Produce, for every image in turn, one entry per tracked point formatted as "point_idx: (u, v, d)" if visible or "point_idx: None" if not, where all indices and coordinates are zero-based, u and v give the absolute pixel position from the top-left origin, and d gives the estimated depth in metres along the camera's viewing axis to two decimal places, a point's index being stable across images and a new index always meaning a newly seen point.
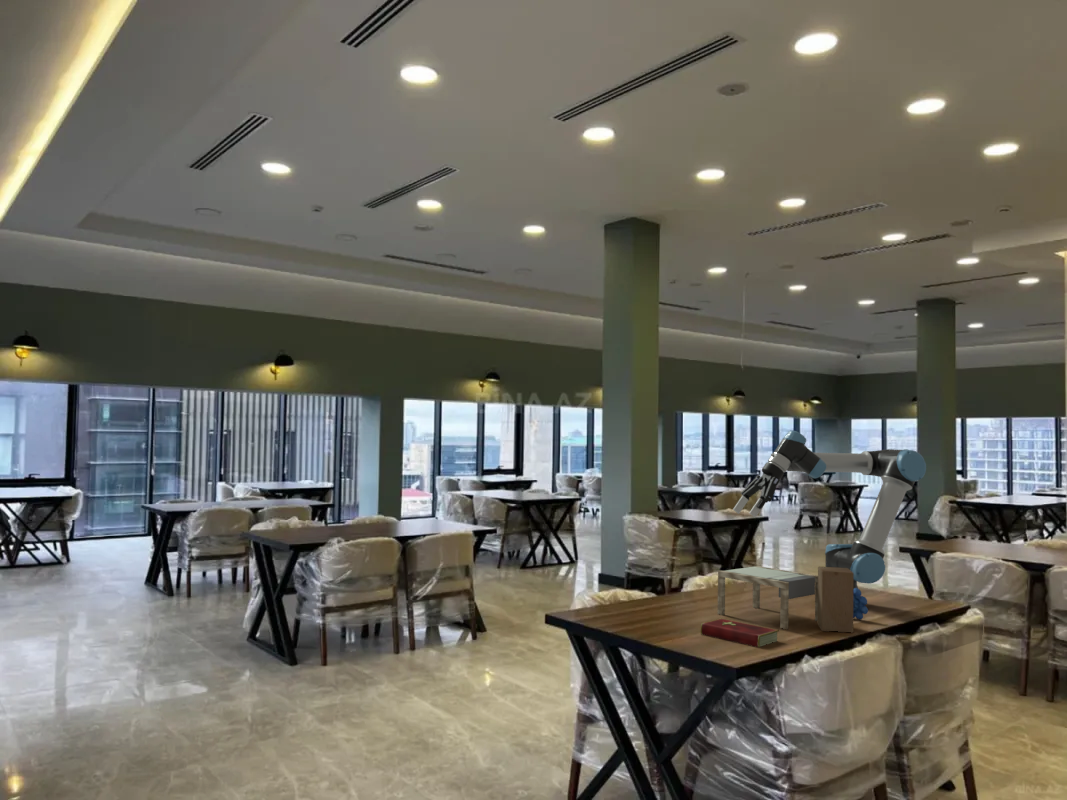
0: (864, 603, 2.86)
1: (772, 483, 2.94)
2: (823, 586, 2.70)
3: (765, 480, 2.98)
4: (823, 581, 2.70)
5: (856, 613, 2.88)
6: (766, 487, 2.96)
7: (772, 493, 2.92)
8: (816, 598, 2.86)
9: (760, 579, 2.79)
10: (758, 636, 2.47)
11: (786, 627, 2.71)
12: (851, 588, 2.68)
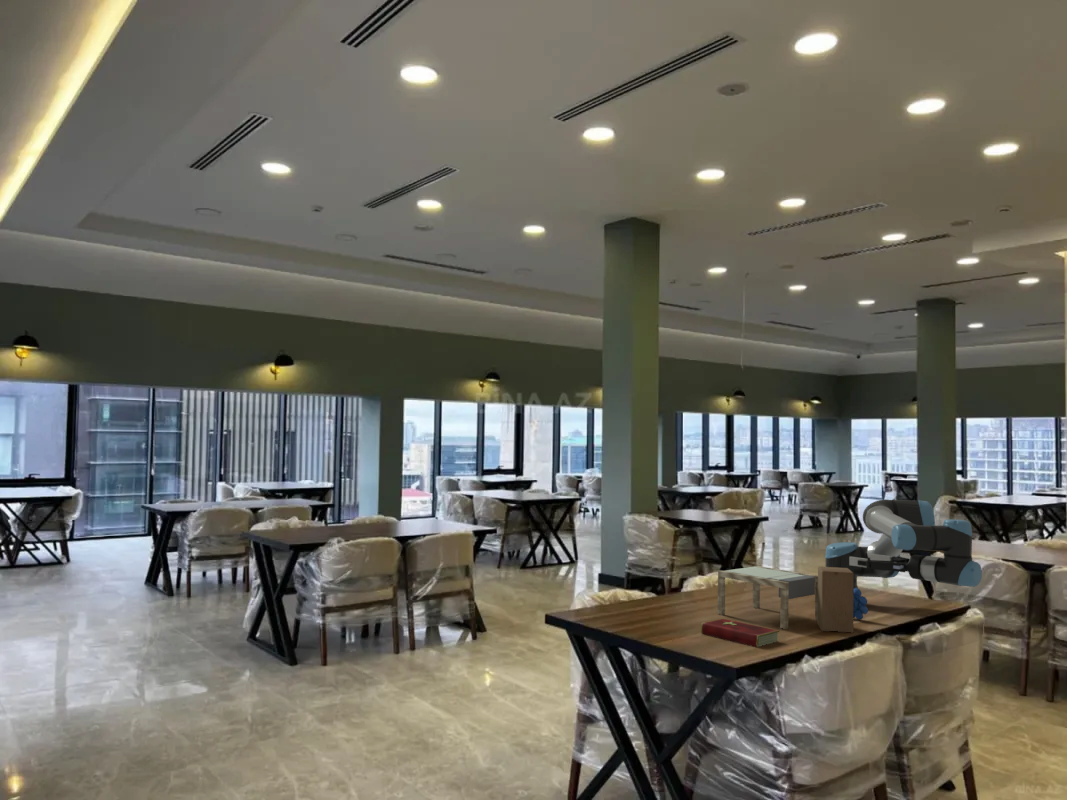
0: (864, 603, 2.86)
1: None
2: (823, 586, 2.70)
3: None
4: (823, 581, 2.70)
5: (856, 613, 2.88)
6: None
7: None
8: (816, 598, 2.86)
9: (760, 579, 2.79)
10: (757, 636, 2.47)
11: (786, 627, 2.71)
12: (851, 588, 2.68)
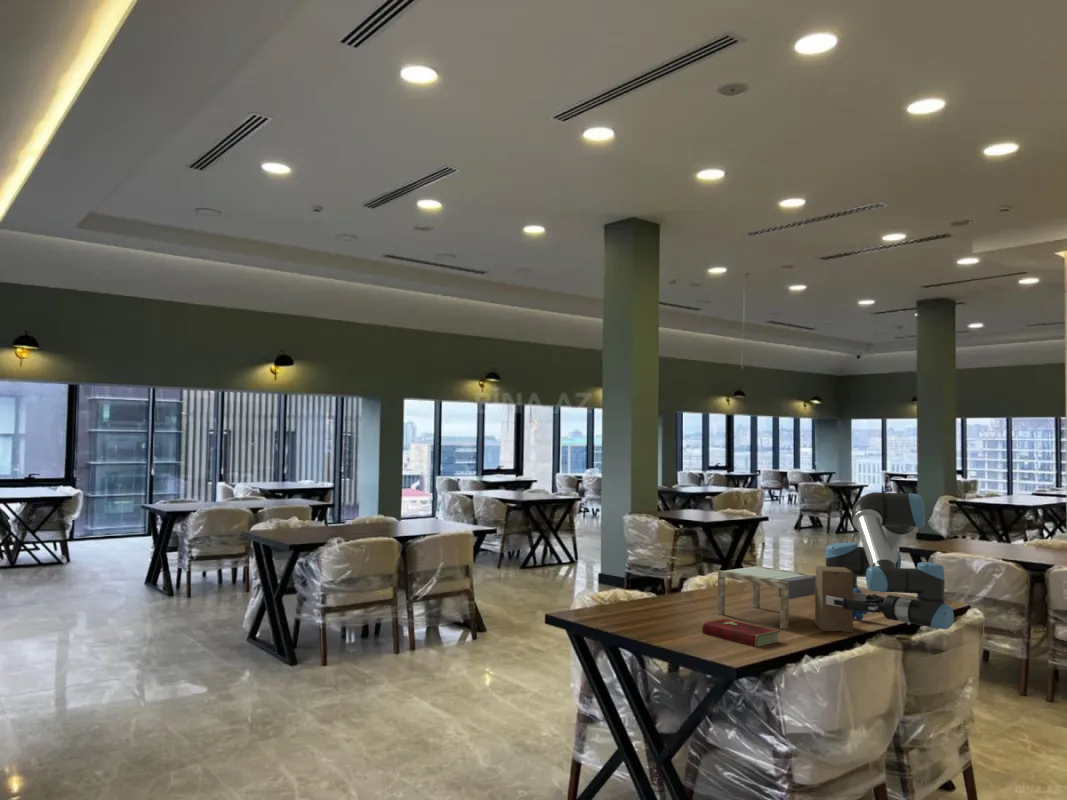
0: None
1: None
2: (823, 586, 2.70)
3: None
4: (823, 581, 2.70)
5: (856, 613, 2.88)
6: None
7: None
8: None
9: (760, 579, 2.79)
10: (756, 636, 2.47)
11: (786, 627, 2.71)
12: (851, 587, 2.69)
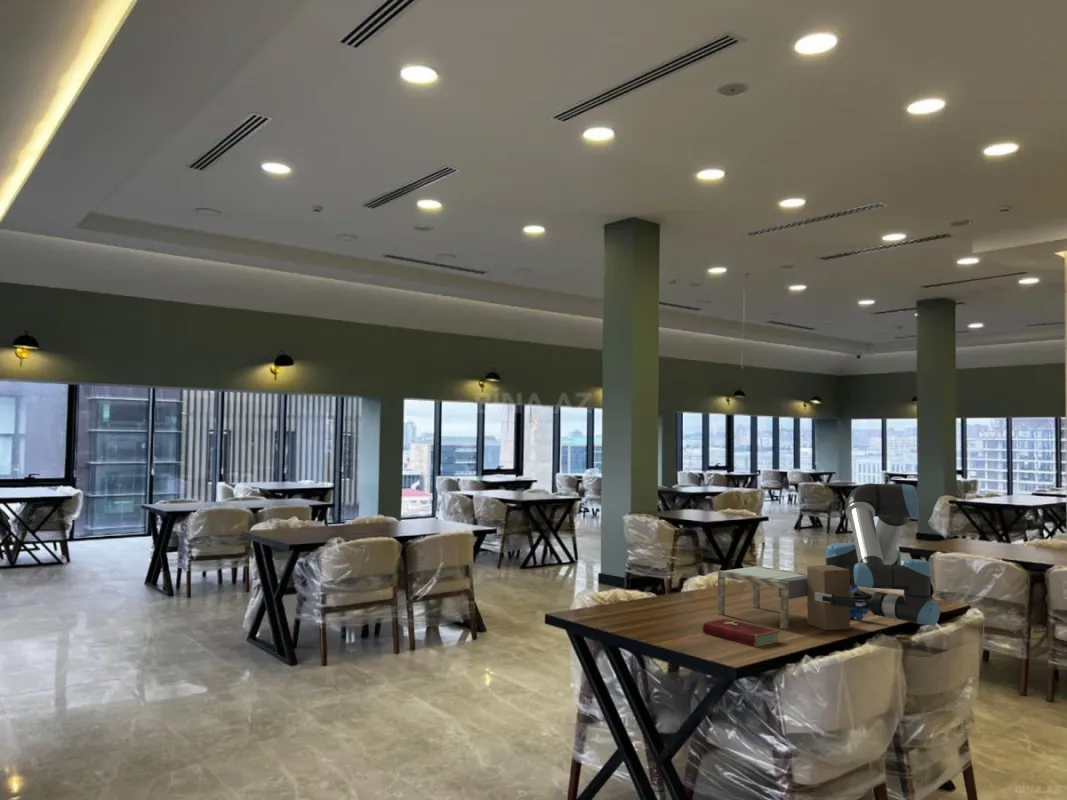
0: None
1: None
2: (825, 586, 2.70)
3: None
4: (825, 581, 2.71)
5: (856, 613, 2.88)
6: None
7: None
8: None
9: (760, 579, 2.79)
10: (755, 636, 2.47)
11: (786, 627, 2.71)
12: (848, 585, 2.73)
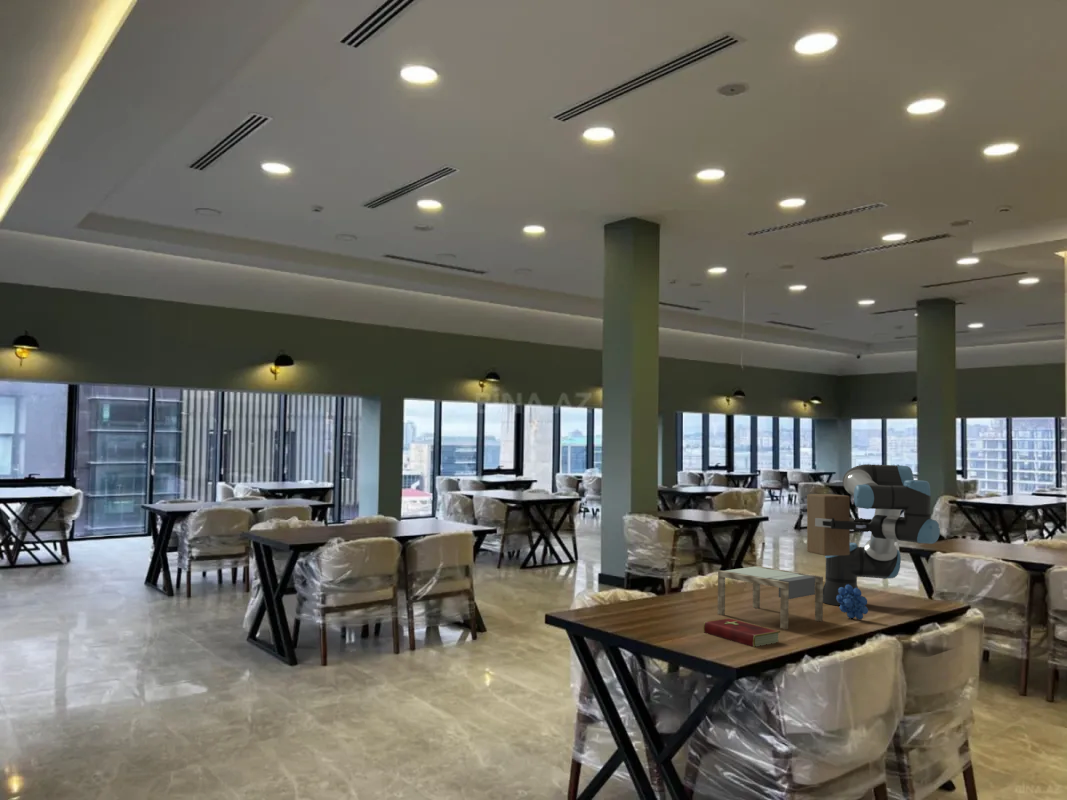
0: (864, 603, 2.86)
1: None
2: (826, 511, 2.71)
3: None
4: (826, 506, 2.72)
5: (856, 613, 2.88)
6: None
7: None
8: (816, 598, 2.86)
9: (760, 579, 2.79)
10: (753, 636, 2.47)
11: (786, 627, 2.71)
12: (848, 511, 2.74)
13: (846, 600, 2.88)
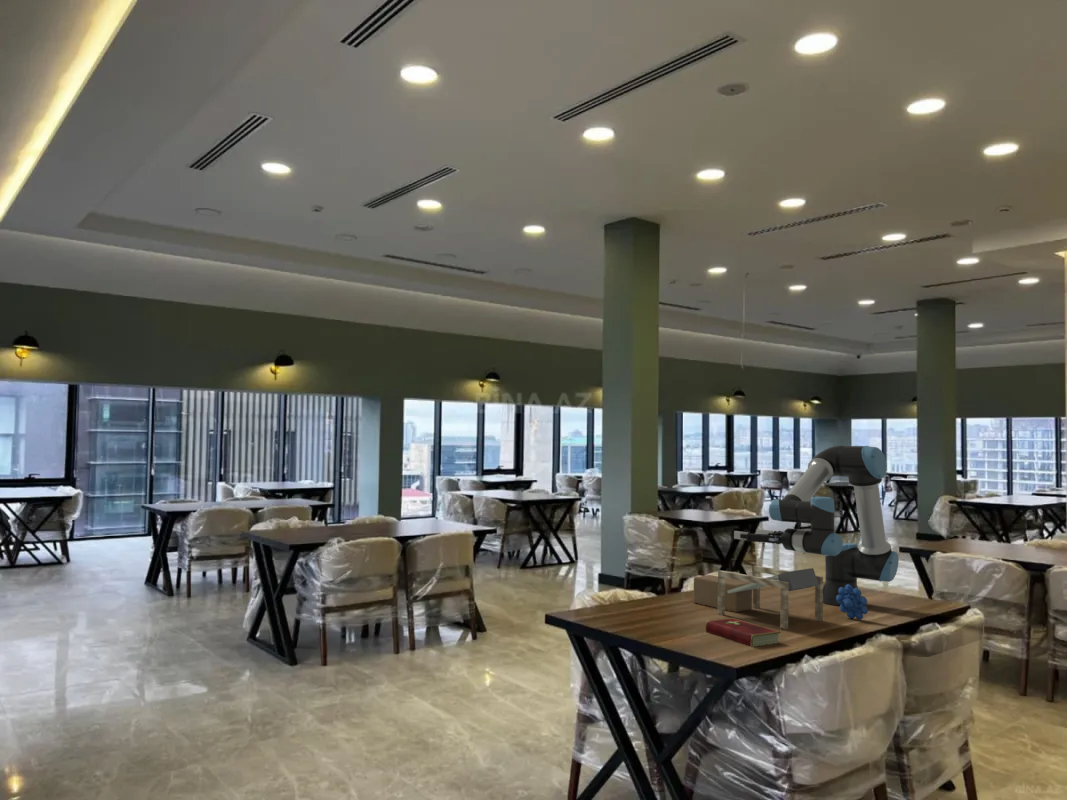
0: (864, 603, 2.86)
1: None
2: (704, 578, 3.08)
3: None
4: (701, 578, 3.09)
5: (856, 613, 2.88)
6: None
7: None
8: (816, 598, 2.86)
9: (760, 579, 2.79)
10: (751, 636, 2.47)
11: (786, 627, 2.71)
12: None
13: (846, 600, 2.88)
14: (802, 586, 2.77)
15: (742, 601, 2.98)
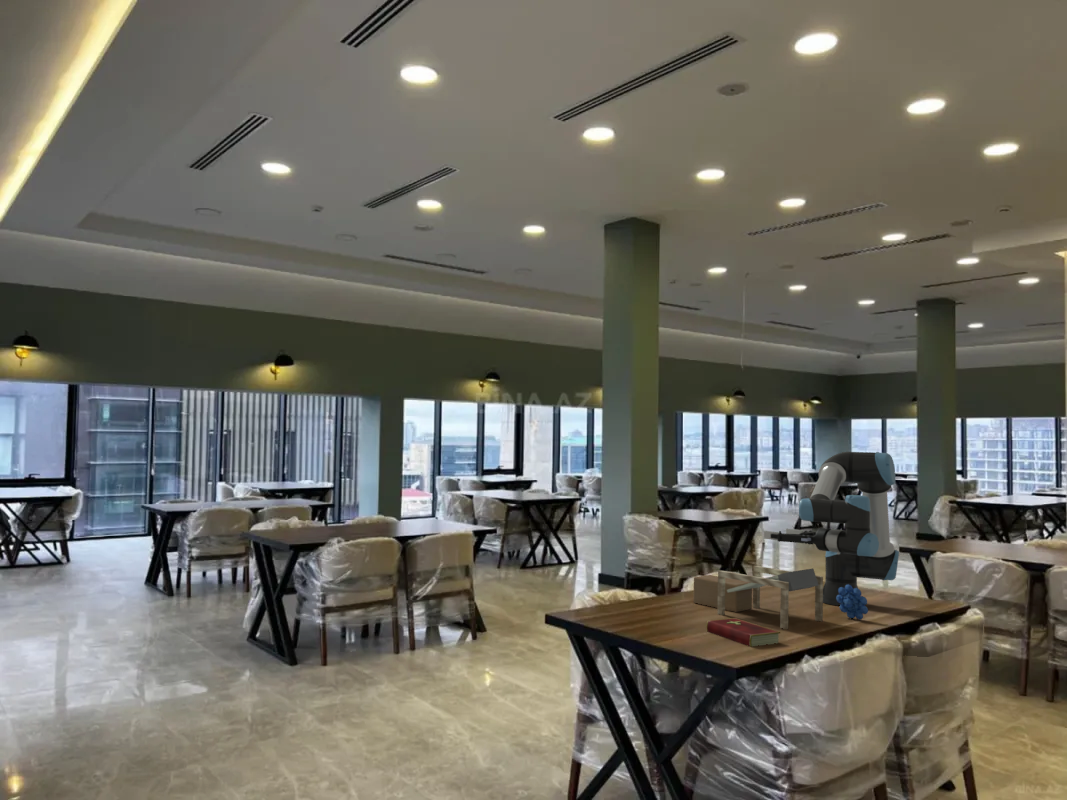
0: (864, 603, 2.86)
1: None
2: (704, 578, 3.08)
3: None
4: (701, 578, 3.09)
5: (856, 613, 2.88)
6: None
7: None
8: (816, 598, 2.86)
9: (760, 579, 2.79)
10: (750, 635, 2.47)
11: (786, 627, 2.71)
12: None
13: (846, 600, 2.88)
14: (802, 587, 2.77)
15: (742, 601, 2.98)
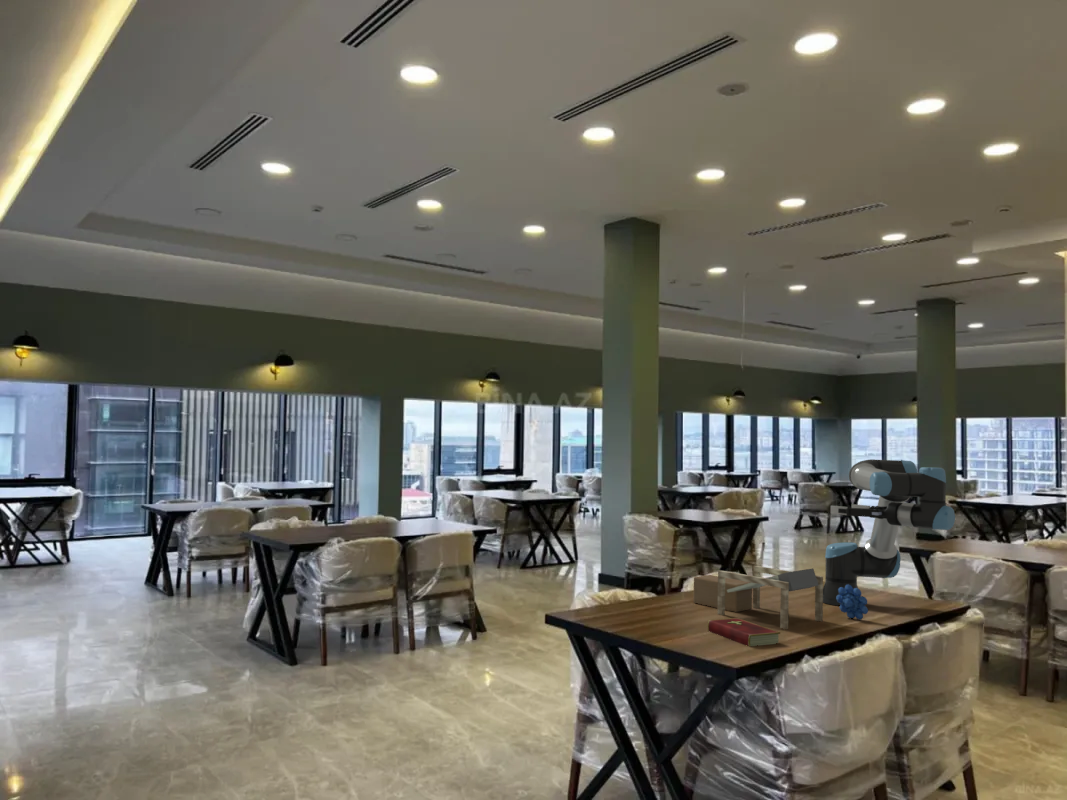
0: (864, 603, 2.86)
1: None
2: (704, 578, 3.08)
3: None
4: (701, 578, 3.09)
5: (856, 613, 2.88)
6: None
7: None
8: (816, 598, 2.86)
9: (760, 579, 2.79)
10: (749, 635, 2.47)
11: (786, 627, 2.71)
12: None
13: (846, 600, 2.88)
14: (802, 587, 2.77)
15: (742, 601, 2.98)
